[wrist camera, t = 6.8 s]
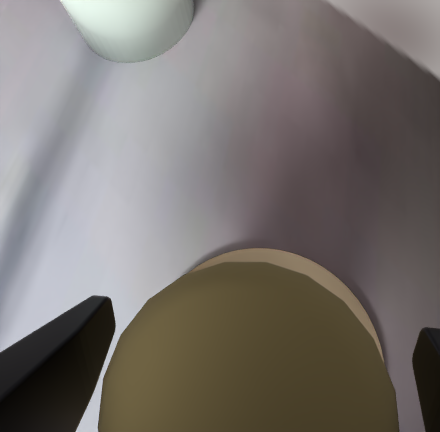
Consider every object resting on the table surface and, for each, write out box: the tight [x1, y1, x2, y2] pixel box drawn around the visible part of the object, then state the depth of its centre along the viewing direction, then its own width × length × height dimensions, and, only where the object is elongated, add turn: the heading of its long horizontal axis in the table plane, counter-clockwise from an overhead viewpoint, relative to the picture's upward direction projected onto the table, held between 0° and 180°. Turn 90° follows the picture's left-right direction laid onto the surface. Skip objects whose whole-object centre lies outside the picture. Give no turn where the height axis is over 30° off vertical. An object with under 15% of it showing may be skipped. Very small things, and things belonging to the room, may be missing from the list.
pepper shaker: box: [98, 262, 399, 432], centre depth 11 cm, size 6×6×11 cm
